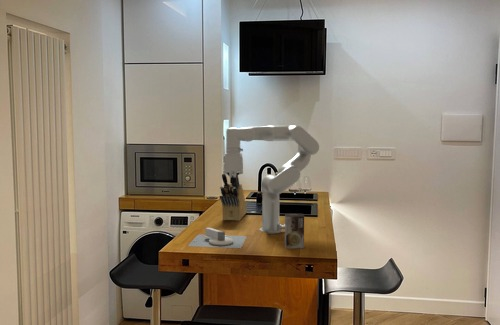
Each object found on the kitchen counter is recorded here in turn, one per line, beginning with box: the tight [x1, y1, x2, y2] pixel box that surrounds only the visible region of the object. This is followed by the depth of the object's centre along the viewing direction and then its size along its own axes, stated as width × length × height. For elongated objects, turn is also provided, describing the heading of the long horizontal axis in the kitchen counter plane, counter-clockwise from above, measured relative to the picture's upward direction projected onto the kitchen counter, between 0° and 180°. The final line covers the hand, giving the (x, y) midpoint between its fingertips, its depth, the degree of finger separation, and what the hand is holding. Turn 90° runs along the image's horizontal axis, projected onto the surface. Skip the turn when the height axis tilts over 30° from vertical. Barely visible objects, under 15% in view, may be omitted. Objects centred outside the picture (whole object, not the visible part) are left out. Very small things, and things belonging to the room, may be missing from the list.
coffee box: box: [284, 213, 305, 249], centre depth 250 cm, size 9×6×16 cm
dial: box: [204, 227, 233, 245], centre depth 254 cm, size 18×12×5 cm, turn 40°
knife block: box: [219, 172, 248, 221], centre depth 316 cm, size 11×35×31 cm, turn 170°
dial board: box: [187, 234, 248, 249], centre depth 255 cm, size 26×24×2 cm
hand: (233, 184), depth 275 cm, fingers closed
